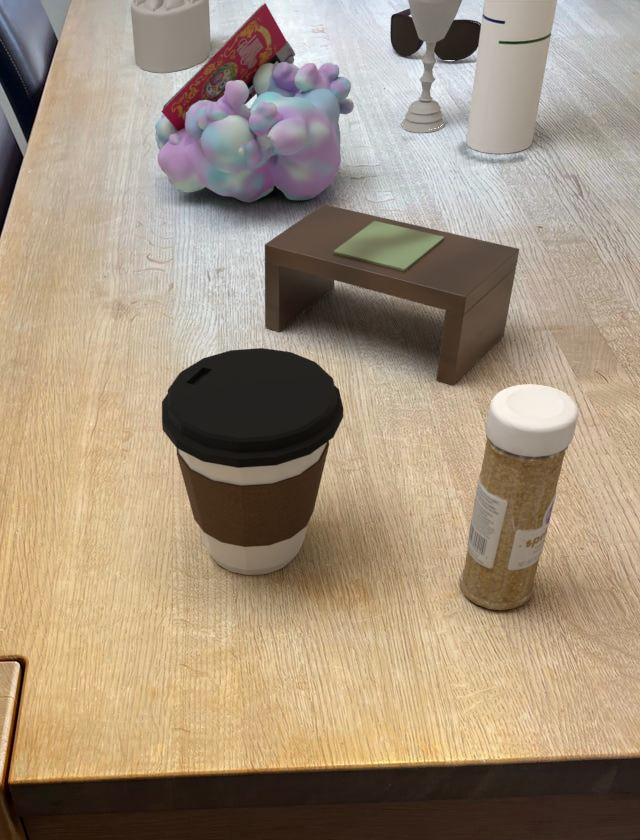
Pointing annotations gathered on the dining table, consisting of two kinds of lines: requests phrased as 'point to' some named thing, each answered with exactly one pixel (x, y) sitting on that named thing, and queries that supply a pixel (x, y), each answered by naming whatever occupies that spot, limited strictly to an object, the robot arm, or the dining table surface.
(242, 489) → the coffee cup
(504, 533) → the brown spice jar
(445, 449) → the dining table surface
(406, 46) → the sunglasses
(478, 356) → the low table
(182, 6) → the lumpy-topped squat cylinder
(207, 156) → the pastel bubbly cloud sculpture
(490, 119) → the cylindrical container
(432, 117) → the chalice
